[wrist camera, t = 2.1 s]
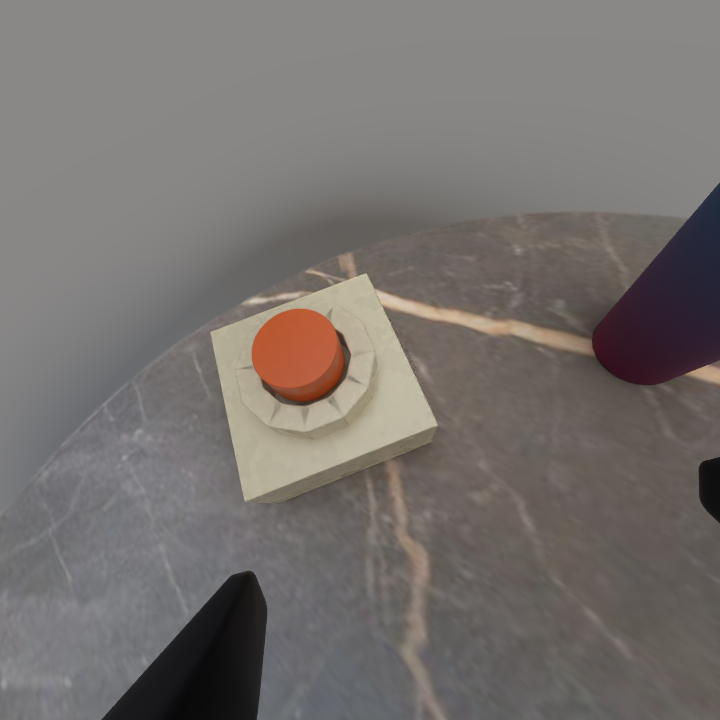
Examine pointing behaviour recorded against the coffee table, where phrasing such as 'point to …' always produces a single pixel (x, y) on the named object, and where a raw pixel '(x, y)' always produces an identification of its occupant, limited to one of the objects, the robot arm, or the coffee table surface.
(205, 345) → the coffee table surface
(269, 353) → the power button
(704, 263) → the cup
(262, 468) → the beige button housing
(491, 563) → the coffee table surface
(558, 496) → the coffee table surface
